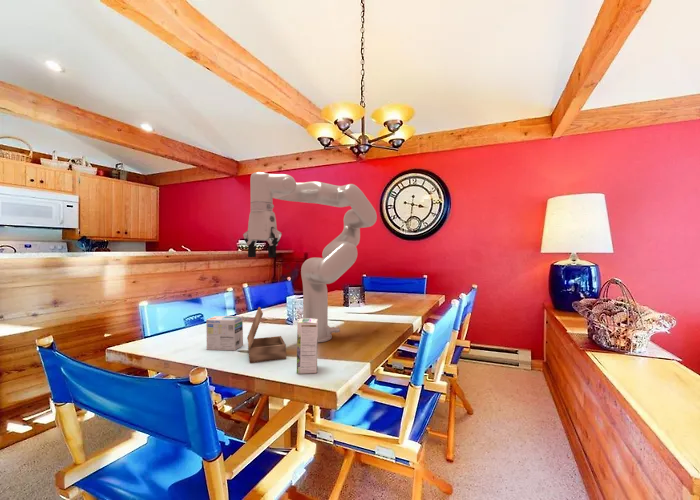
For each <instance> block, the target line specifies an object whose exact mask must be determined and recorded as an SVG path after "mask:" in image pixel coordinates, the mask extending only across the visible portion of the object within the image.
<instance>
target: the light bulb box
mask: <svg viewBox="0 0 700 500" xmlns="http://www.w3.org/2000/svg"><path fill="white" fill-rule="evenodd" d="M243 319H244V318H243V315H239V316H238V315H237V316H236V315H234V316H233V315H214V316H212V317H209V318H207V319H206V325H205V326H206V350H207V351H208V350H209V351H212V350H213V351H236V350H238V349H240V347H242V346H244V331H243V330H244V327H243V326H244V324H243V323H244V322H243V321H244V320H243Z"/></svg>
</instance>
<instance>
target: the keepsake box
mask: <svg viewBox="0 0 700 500" xmlns="http://www.w3.org/2000/svg"><path fill="white" fill-rule="evenodd" d="M247 347H248V348H247V352H248V353H247V354H248V360H249V364H254V363H263V362H271V361H279V360H281V361H282V360H287V345H286V343H285V340H284V339H283V337H282V336H281V335H279V336H268V337H257V338H255V337H254V340H253V343H252V345H251V347H250V348H249V345H248V344H247Z"/></svg>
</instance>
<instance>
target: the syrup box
mask: <svg viewBox="0 0 700 500" xmlns="http://www.w3.org/2000/svg"><path fill="white" fill-rule="evenodd" d="M296 327H297V328H296V329H297V333H296V335H297V336H296V337H297V338H296V339H297V341H296V374H297V375H298V374H300V375H301V374H302V375H303V374H316V373H317V372H318V348H319V347H318V343H319V342H318V319H313V318H303V317H302V318H299V320H298V322H297V326H296Z"/></svg>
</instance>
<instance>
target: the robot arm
mask: <svg viewBox="0 0 700 500" xmlns="http://www.w3.org/2000/svg"><path fill="white" fill-rule="evenodd" d="M249 184H250V212H249V216H248V225H247V230H246V231H245V232H244V233H243V234H242V236H243V238H244V242H245V244H246V246H247V257H248V258H256V257H257V246H256V244H257V242H258V241H259V242H260V241H261V242H263V241H264V242H265V241H266V242H267V243H268V244H269V245H268V249H267V250H268V252H267V256H268V258H276V257H277V246H278V244H279V242H280V240H281V237H282V233H283V232H281V231H279V230H278V228H277V227H278V226H277V218H276V213H275V212H274V210H273V209H274V208H275V205H274V204H273V203H274V202H273V200H274V199H275V200H280V201H287V202H296V203H298V202H299V203H307V204H319V205H322V206H323V205H324V206H330V207H335V208H345V207H350V208H351V209H348V210H347V211H346V212H345V213H344V216H343V229H342V232H340V234H339V235H338V236H336V237H335V238H334V239H332V240H331V241H330V242H329V243H328V244H327V245H326V246H325V247H324V248H323V250H322V254H321V256H322V257H310V258H308V259H306V260H305V261H304V262H303V263H302V265H301V268H300V270H301V271H300V275H301V281H302V294H303V295H302V297H303V298H302V301H303V302H302V303H303V304H302V313H303V314H302V319H303V318H313V319H318V343H325V342H328V341H330V340H331V339H332V334H333V333H335V334H336V333H340V332H341V330H340V327H339V326H338V327H335V326H331V327H330V326H329V325H328V319H329V317H328V316H329V315H328V314H329V313H328V311H329V310H328V307H329V306H328V303H329V302H328V298H329V297H328V296H329V295H328V287H327V285H330V284H333V283H335V282H336V281H337V280H338V279H340V277H342V276H343V275H344V274H345V273H346V272H347V271H348V270H349V269H350V268H351V267H352V266H353V265H354V264H355V262H356V261H357V258H358V248H357V246H358V245H359V244H360V240H361V229H363V228H365V229H366V228H370V227H373V226H375V224H376V222H377V220H378V216H377V211H376V209H375V208H374V206H373V204H372V203H371V201H370V200H369V199H368V197H366V195H365V193H364V191H362V189H360V187H358V186H357V185H356V184H354V183H349V184H348V183H347V184H344V185H335V184H331V183H326V182H323V181H322V182H321V181H306V182H297V181H296V180H295V178H294V177H293V176H292V175H290V174H287V173H286V174H285V173H268V172H264V171H262V172H261V171H257V172H253V173H252V174H251V175H250V183H249Z"/></svg>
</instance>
